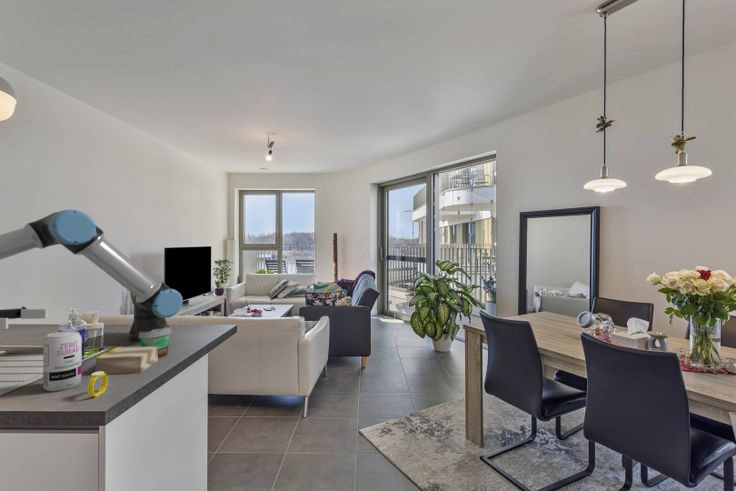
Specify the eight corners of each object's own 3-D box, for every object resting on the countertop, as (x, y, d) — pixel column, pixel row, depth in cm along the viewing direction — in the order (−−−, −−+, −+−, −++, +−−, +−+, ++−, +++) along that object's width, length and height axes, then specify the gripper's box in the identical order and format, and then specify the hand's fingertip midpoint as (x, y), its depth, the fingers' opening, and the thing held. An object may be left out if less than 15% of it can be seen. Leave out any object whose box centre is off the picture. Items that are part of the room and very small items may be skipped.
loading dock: (117, 361, 122) (117, 346, 122) (157, 360, 124) (157, 345, 124) (95, 374, 111) (95, 357, 111) (140, 372, 112) (141, 356, 112)
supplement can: (61, 380, 105) (61, 330, 105) (88, 381, 105) (88, 330, 105) (34, 392, 97) (35, 337, 97) (64, 392, 97) (64, 337, 97)
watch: (95, 400, 93) (95, 378, 93) (84, 400, 93) (83, 378, 93) (110, 389, 99) (109, 368, 99) (100, 389, 99) (99, 368, 99)
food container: (153, 362, 122) (153, 333, 122) (138, 360, 124) (138, 332, 124) (179, 351, 134) (179, 325, 134) (165, 350, 136) (165, 324, 136)
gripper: (-18, 323, 109) (59, 322, 112) (-116, 345, 84) (-14, 343, 87) (-17, 298, 109) (60, 298, 112) (-115, 314, 84) (-13, 313, 87)
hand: (28, 318), depth 100 cm, fingers open, 13 cm apart
